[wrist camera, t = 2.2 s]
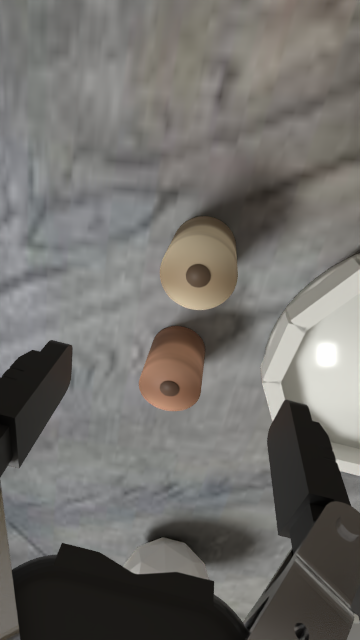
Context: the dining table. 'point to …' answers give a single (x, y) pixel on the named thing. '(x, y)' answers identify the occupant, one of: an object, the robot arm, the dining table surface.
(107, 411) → the dining table surface
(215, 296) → the birch bead
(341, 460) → the grooved tray
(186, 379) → the terracotta bead
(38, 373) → the robot arm
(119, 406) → the dining table surface
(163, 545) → the geodesic sphere
